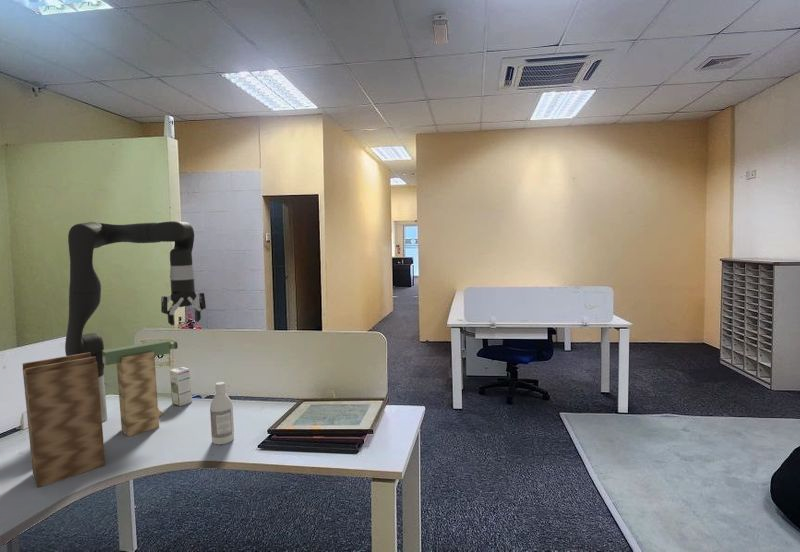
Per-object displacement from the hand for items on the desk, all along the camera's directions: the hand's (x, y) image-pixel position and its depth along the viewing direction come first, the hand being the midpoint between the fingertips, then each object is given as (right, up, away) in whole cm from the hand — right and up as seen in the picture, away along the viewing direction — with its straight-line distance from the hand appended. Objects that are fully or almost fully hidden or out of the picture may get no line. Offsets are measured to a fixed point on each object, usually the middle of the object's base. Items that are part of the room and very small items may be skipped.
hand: (185, 323), depth 155 cm
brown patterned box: (-22, -41, -26) cm, 53 cm away
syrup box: (-14, -36, +25) cm, 46 cm away
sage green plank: (-16, -12, +1) cm, 20 cm away
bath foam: (+17, -39, -8) cm, 43 cm away
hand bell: (-20, -38, +13) cm, 44 cm away
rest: (-17, -38, +2) cm, 42 cm away
